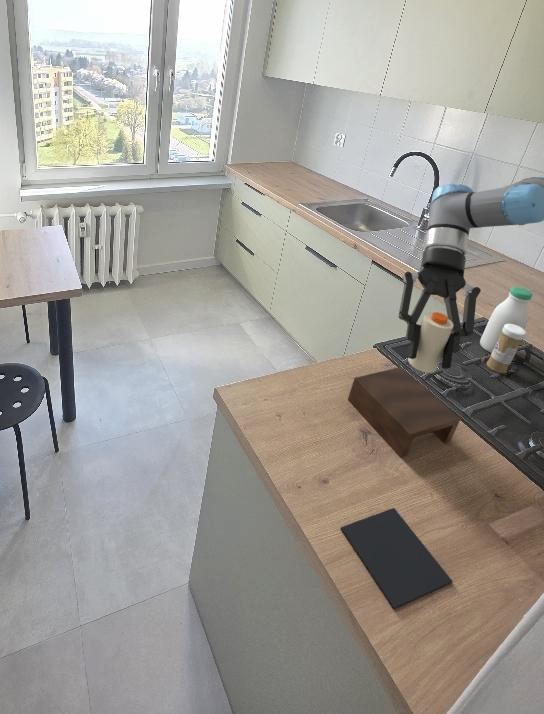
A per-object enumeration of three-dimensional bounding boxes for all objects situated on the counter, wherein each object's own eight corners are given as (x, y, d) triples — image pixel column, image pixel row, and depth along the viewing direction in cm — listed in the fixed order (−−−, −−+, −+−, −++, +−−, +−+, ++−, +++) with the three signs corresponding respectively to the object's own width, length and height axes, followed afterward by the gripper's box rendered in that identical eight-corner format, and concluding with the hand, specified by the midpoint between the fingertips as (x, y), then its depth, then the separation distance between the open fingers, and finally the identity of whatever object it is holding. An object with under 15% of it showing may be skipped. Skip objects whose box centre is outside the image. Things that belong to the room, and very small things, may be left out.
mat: (451, 583, 67) (452, 581, 67) (393, 609, 64) (394, 608, 63) (393, 509, 78) (394, 507, 77) (340, 528, 74) (340, 527, 74)
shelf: (450, 441, 92) (460, 418, 89) (400, 457, 87) (410, 434, 85) (392, 387, 105) (400, 366, 103) (347, 399, 101) (354, 377, 98)
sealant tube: (441, 370, 84) (461, 322, 79) (422, 375, 83) (441, 326, 78) (420, 353, 88) (438, 306, 83) (402, 358, 87) (419, 310, 82)
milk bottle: (508, 361, 116) (538, 302, 108) (476, 347, 121) (501, 289, 113) (514, 349, 121) (542, 291, 113) (482, 336, 126) (507, 279, 118)
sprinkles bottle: (482, 361, 116) (500, 321, 111) (500, 363, 116) (519, 324, 110) (492, 373, 112) (511, 332, 106) (510, 375, 111) (530, 335, 106)
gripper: (488, 269, 88) (476, 380, 81) (392, 249, 95) (374, 350, 88) (504, 257, 81) (492, 377, 74) (400, 237, 88) (381, 345, 81)
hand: (428, 362), depth 81 cm, fingers closed on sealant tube, 5 cm apart
